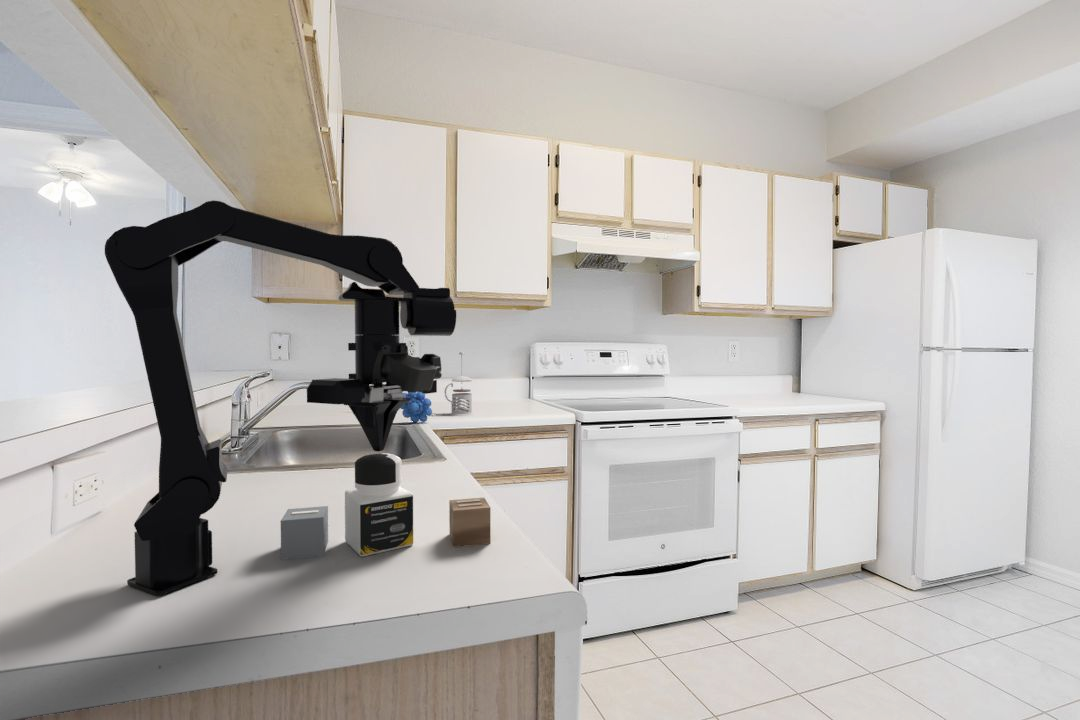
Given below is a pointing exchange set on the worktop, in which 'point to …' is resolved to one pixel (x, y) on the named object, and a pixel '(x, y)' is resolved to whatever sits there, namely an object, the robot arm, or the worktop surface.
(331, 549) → the worktop surface
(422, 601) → the worktop surface
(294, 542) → the slate block one
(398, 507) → the medicine bottle
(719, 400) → the worktop surface
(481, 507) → the walnut block two
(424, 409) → the blue knobby cluster
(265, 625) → the worktop surface
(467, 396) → the french press
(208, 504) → the robot arm
